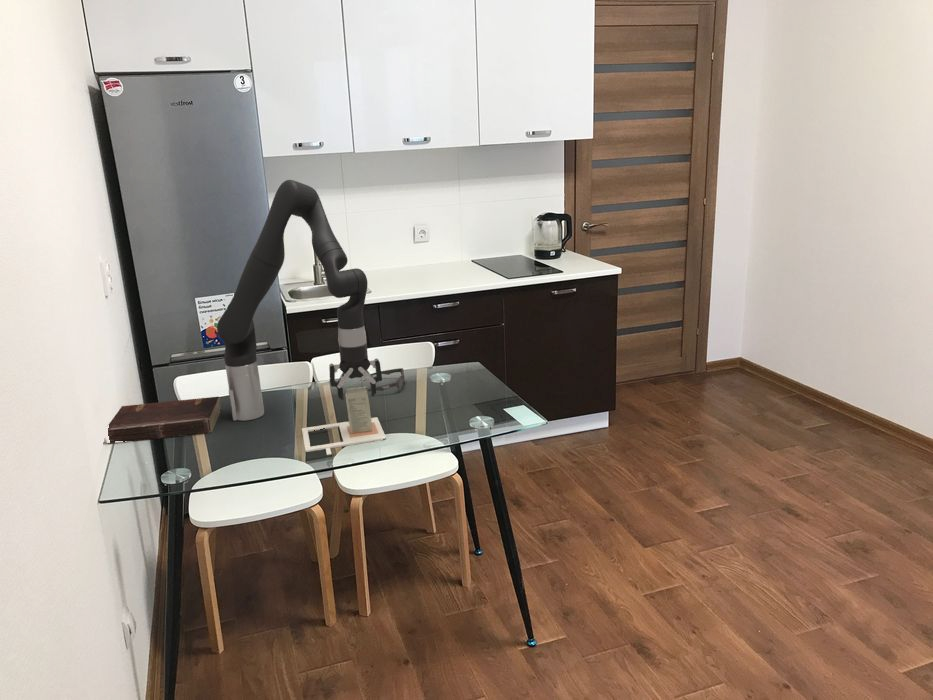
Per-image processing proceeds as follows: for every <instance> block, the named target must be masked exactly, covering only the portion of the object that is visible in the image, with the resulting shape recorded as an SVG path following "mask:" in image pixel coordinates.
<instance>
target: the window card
mask: <svg viewBox="0 0 933 700" xmlns="http://www.w3.org/2000/svg"><path fill="white" fill-rule="evenodd" d="M371 422H372V431H367V432H359V433H350V426H349V420H348V421H343V422H336V423H328V424H322V425H316V426H309V427H308V426H307V427H302V428H301V431H302V439H303V446H304V450H305V451H304V452H305V453H309V452H315V451H323V450H325V452H326V455H327V456H330V455H332V450H331V449H335V448H340V447H341V448H342V447H349V446H353V445H354V446H355V445H359V444H360V445H361V444H366V443H367V444H368V443H373V442H379V441H378V440H380V441H382V440H381V439H384V438H385V437H386V434H385V432H384V430H383V427H382V424H381V423H380V421H379V418H378V416H377V417H371ZM323 428H325V429H323ZM335 428H339V431H340V434H341V438H342V441H337V442H333V443H331V442H330V443H325V444H319V445H313V446H311V443H310V442H311V441H310V436H309V432H315V431H321V430H320V429H323V430H329V429H335ZM314 430H315V431H314Z"/></svg>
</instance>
